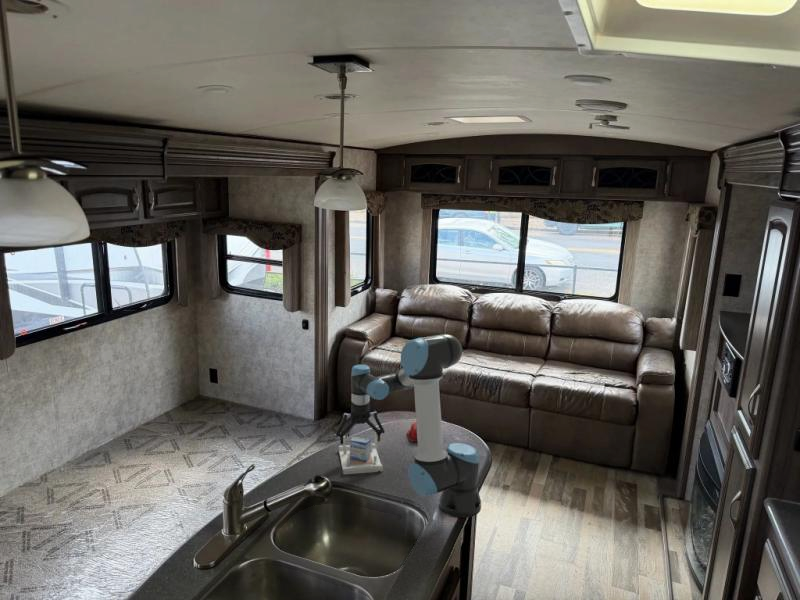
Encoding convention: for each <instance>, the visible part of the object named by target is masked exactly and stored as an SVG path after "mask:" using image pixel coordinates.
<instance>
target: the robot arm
mask: <svg viewBox="0 0 800 600" xmlns="http://www.w3.org/2000/svg"><path fill="white" fill-rule="evenodd" d="M462 356H463V347H462V343H461V342H460V340H458V338H456V337H455V336H453V335H451V334H447V333H440V334H436V335H429V336H424V337H417V338H414V339H410V340H408V341H407V342H406V343H405V344H404V345H403V346H402V349H401V352H400V364H401V367H402V368H401V369H400V370H398V371H396V372H393V373H388V374H384V375H378V376H374V375H372V373H371V368H370V366H368V365H367V364H356V365H353V366H352V368H351V376H350V381H351V382H350V386H351V403H350V404H351V407H350V408H351V412H350V413H347V412H344V413H343V417H342V418H341V421H340V423H339V425H338V427H337V429H336V431H335V436H336V437H339V442H340V445H342V446H343V452H345V445H346V435H347V433H348V432H350V431H349V430H351V428H353V426H354V425H360V424H363V425H365V423H366V424H367V425H369V427H370V428H371V429H372V430H373V431H374V443H375V449H376V450H378V448H379V447H378V446H379V445H378V443H379V442H380V441H381V435H382V434H385V429H384V427H383V424H382V423H381V421H380V419H379V418H378V413H377V411H376V410H373V411H372V412H370V401H371V400H370V399H371V398H372V399H373V400H378V401H382V400H384V399H385V398H386V397H387V396H388V394H392V393H396V392H400V391H407V390H409V389H412V388H413V390H414V404H415V405H414V406H415V407H414V408H415V423H416V425H417V440H418V441H417V451H415V452H414V453H413V454H414V455H413V458H414V459H413V460H414V462H413V463H411V464H410V465H409V467H408V470H407V475H408V479H409V483H410V484H411V486H412V488H413V489H414V491H416V492H417V493H418V494H419V496H423V497H429V496H435V495H437V494H438V493H441V494H440V496H439V508H440V510H442V512H444V513H445V514H446V515H449V516H450V517H455V518H461V519H462V518H463V519H468V518H472V517H474V516H477V515H478V514H479V513H480V512H481V510H482V498H481V497H480V493H479V490H478V481H479V480H478V479H479V466H480V460H479V458H480V456H479V455H480V454H479V452H478V450H477V449H476V448H475V447H474V446H472V445H469V444H466V443H461V442H453V443H450V444H447V446H446V448H445V449H444V447H443V446H444V445H443V441H444V440H443V427H442V425H443V424H442V411H441V397H440V396H441V395H440V380H442V378H443V376H444V372H443V371H444V370H445V369H448V368H450V367H452V366H454V365H456V364H458V362H459V361H460V360H461V359H462ZM443 369H444V370H443ZM371 417H372V418H374V420H375V422H376V424H377V426H376V425H375V424H374V423H373V422H372V421H371V420H370V418H371ZM349 418H350V420H349V422H348V424H346V422H347V420H348V419H349Z"/></svg>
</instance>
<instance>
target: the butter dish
mask: <svg viewBox="0 0 800 600" xmlns="http://www.w3.org/2000/svg"><path fill="white" fill-rule="evenodd" d="M407 435H408V437H409V438H408V439H409V440H410V441H411V442H418V440H417V425H416V422H413V423H412V424H411V426H410V429H409V430H407Z"/></svg>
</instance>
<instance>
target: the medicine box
mask: <svg viewBox="0 0 800 600" xmlns="http://www.w3.org/2000/svg"><path fill="white" fill-rule="evenodd" d="M371 443H372V442H371V438H364V437H359V436H352V438H350V439H349V445H350V459H351V460H357V461H363V462H367V461H368V460H369V458H370V444H371Z"/></svg>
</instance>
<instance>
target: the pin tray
mask: <svg viewBox="0 0 800 600" xmlns="http://www.w3.org/2000/svg"><path fill="white" fill-rule="evenodd" d="M377 450H378V449H377ZM377 450H376V449H375V442H374V443H373V442H370V458H369V460H368V461H367V462H363V461H357V460H351V459H350V444H345V452H343V445H339V446H338V452H339V453H338V454H339V458H340V464H341V469H342V475H354V474H355V475H356V474H365V473H366V474H367V473H377V472H378V471H380V472H383V470H384V468H383V467H384V466H383V464H382V463H381V460H380V457H379V454H378V451H377Z"/></svg>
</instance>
